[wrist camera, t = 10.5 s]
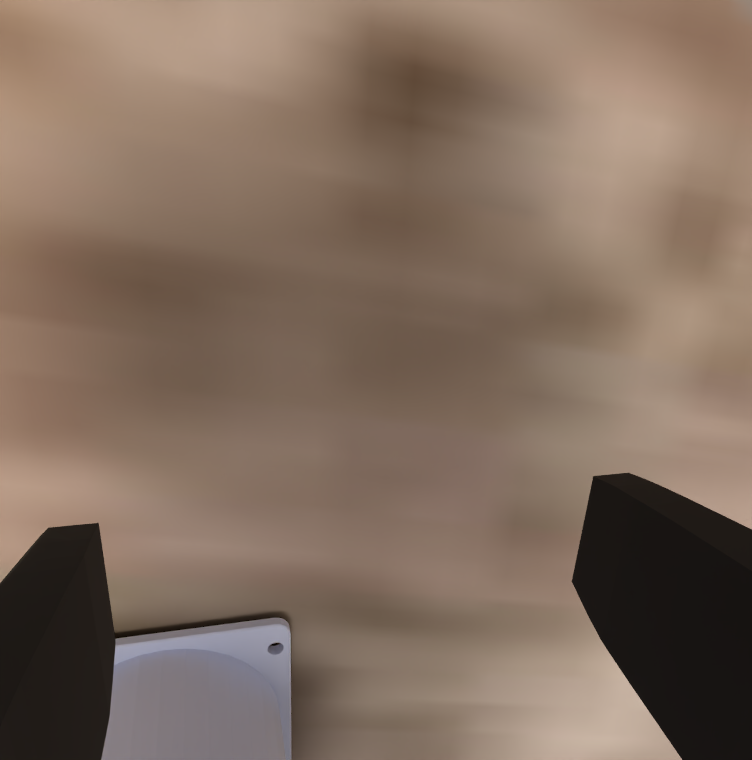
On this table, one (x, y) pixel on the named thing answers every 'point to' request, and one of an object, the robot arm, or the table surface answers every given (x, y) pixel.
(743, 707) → the robot arm
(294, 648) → the table surface
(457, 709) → the table surface
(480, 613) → the table surface
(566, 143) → the table surface
